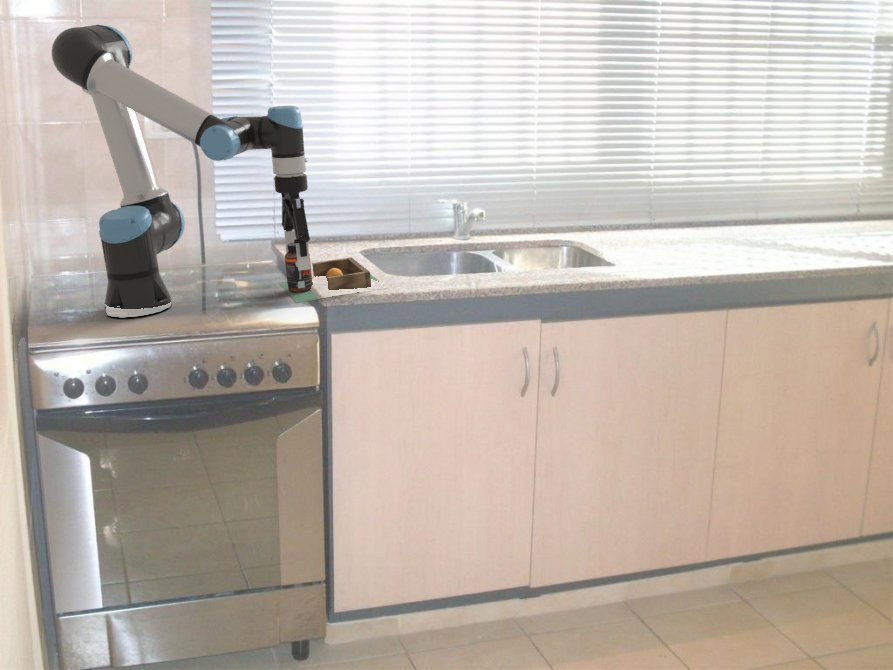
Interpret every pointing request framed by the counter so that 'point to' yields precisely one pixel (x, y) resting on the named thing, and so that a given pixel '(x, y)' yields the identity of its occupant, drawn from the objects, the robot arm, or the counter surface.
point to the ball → (334, 272)
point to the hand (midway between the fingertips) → (298, 263)
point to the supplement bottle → (296, 272)
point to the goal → (351, 275)
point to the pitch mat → (305, 293)
